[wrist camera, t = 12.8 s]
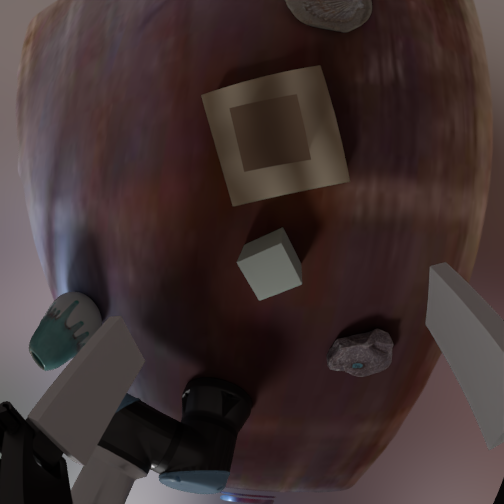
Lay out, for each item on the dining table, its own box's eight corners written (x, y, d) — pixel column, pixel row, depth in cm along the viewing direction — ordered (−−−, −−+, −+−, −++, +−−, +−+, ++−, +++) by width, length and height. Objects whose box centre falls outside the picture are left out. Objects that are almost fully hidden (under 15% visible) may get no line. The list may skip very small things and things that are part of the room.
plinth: (240, 197, 37) (232, 206, 33) (212, 100, 33) (200, 95, 28) (342, 176, 34) (349, 181, 30) (316, 74, 29) (320, 65, 25)
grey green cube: (263, 278, 41) (259, 300, 36) (244, 244, 40) (236, 262, 34) (301, 263, 39) (302, 284, 34) (282, 227, 38) (281, 242, 32)
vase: (67, 312, 52) (20, 359, 36) (69, 274, 47) (10, 322, 31) (106, 339, 53) (63, 395, 36) (112, 303, 48) (58, 363, 32)
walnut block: (254, 164, 31) (244, 172, 24) (242, 114, 28) (229, 108, 22) (306, 155, 29) (311, 159, 23) (295, 104, 27) (296, 94, 21)
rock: (324, 333, 44) (326, 351, 40) (389, 321, 42) (396, 339, 37) (327, 365, 47) (328, 383, 43) (386, 355, 45) (391, 372, 40)
